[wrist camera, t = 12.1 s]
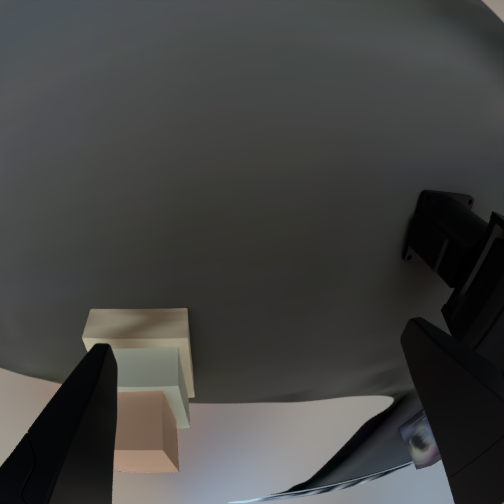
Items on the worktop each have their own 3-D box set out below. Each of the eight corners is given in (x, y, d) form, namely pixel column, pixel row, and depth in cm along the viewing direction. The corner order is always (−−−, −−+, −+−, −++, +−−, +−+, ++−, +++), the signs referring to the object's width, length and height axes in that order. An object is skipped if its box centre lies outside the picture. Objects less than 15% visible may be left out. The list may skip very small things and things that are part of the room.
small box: (435, 396, 45) (460, 441, 36) (450, 396, 47) (473, 436, 39) (396, 428, 49) (415, 471, 41) (413, 426, 52) (432, 465, 43)
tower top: (177, 346, 22) (178, 385, 19) (188, 394, 25) (190, 428, 22) (94, 348, 21) (86, 385, 18) (117, 395, 24) (114, 428, 21)
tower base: (187, 305, 24) (188, 338, 21) (192, 367, 29) (194, 397, 26) (91, 306, 23) (82, 337, 20) (112, 367, 27) (108, 396, 24)
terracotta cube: (162, 390, 19) (162, 450, 15) (176, 420, 21) (179, 471, 18) (101, 392, 18) (94, 448, 15) (122, 421, 21) (119, 471, 17)
